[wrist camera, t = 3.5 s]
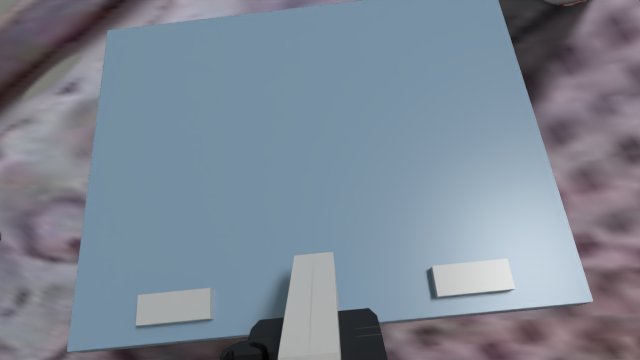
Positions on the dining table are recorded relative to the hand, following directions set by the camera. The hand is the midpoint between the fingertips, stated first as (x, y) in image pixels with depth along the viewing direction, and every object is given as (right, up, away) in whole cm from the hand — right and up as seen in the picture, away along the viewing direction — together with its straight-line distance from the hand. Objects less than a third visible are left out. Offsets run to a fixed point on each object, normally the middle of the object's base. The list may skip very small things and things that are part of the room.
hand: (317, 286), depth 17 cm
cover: (0, +5, +5) cm, 7 cm away
